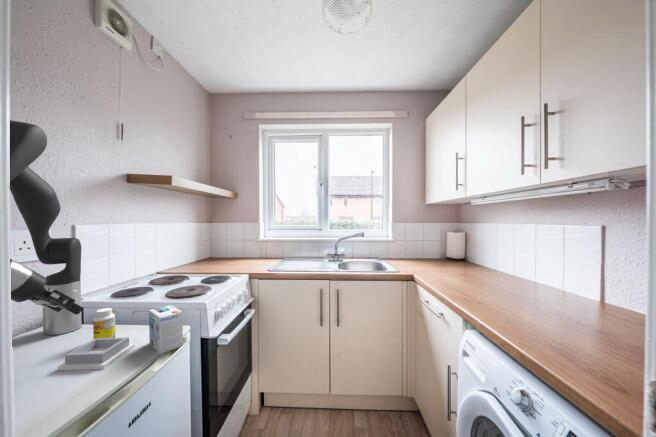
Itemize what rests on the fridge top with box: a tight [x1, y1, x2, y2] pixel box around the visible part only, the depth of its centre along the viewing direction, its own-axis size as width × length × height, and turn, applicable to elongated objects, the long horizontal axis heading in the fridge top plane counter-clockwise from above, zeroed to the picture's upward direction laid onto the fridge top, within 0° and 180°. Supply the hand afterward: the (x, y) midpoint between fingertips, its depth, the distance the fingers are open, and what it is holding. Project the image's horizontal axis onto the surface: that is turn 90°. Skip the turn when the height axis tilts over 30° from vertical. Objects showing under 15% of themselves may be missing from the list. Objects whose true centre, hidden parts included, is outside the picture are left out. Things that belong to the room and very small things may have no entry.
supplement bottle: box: [92, 307, 116, 339], centre depth 89 cm, size 6×6×10 cm
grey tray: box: [57, 336, 136, 371], centre depth 78 cm, size 12×12×4 cm
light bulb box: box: [148, 304, 184, 354], centre depth 85 cm, size 11×7×11 cm, turn 48°
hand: (70, 310), depth 80 cm, fingers open, 8 cm apart
